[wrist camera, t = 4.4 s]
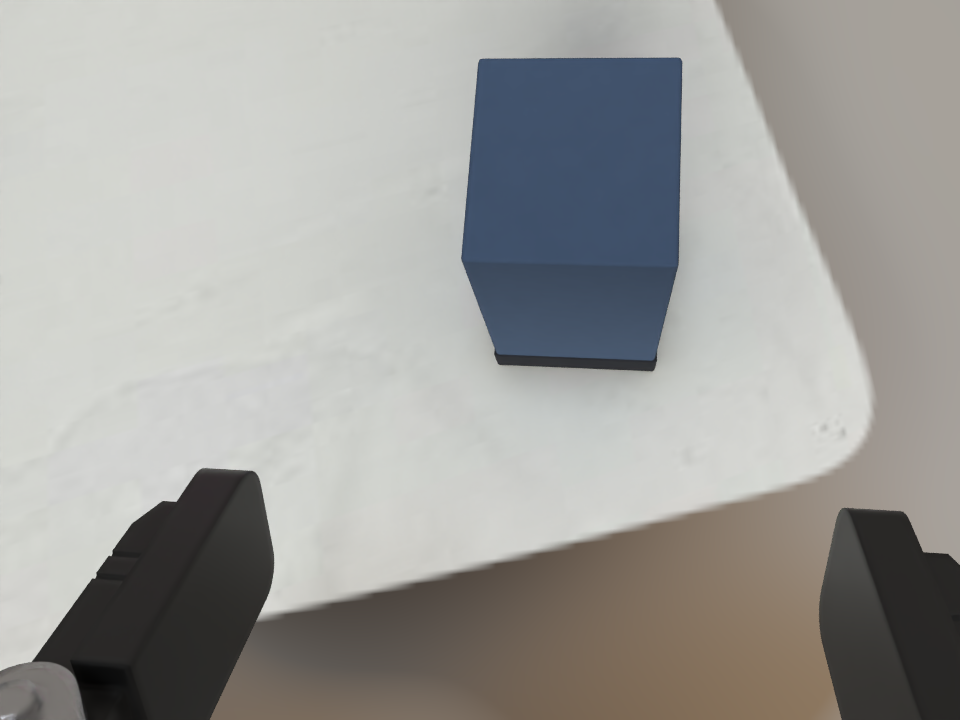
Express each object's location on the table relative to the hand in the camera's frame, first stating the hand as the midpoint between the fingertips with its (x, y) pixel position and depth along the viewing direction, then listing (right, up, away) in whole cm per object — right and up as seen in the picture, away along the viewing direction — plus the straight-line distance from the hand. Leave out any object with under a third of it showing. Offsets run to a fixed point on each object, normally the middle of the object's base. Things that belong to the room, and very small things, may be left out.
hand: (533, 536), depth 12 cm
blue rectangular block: (+2, +5, +14) cm, 15 cm away
